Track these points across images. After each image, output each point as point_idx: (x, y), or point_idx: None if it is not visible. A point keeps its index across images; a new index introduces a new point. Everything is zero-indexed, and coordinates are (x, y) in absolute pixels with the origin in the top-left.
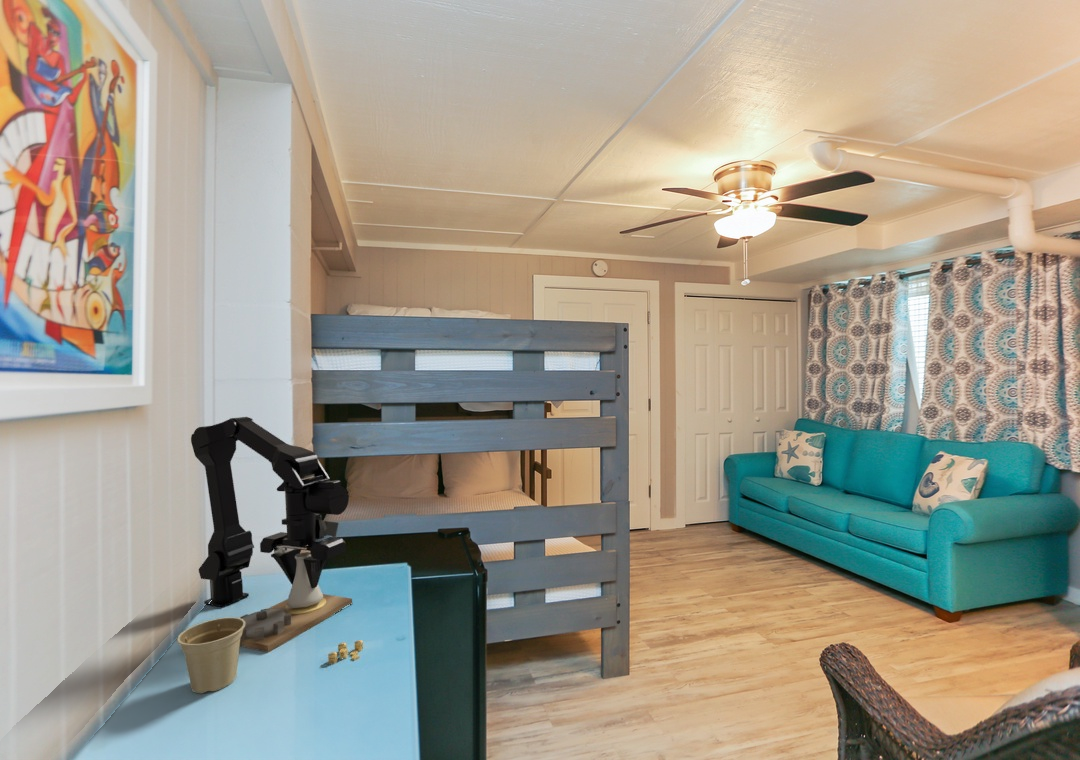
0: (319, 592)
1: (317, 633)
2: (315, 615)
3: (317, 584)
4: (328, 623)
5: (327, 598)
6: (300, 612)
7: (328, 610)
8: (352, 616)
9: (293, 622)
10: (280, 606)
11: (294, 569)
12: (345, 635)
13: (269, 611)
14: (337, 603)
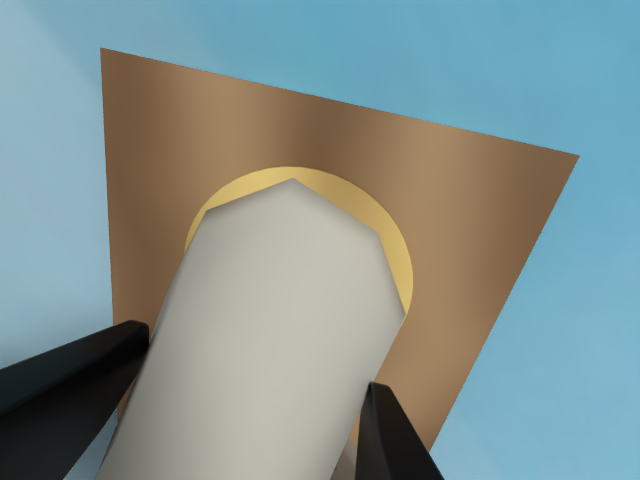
0: (378, 302)
1: (488, 445)
2: (426, 380)
3: (396, 400)
4: (499, 374)
5: (372, 167)
6: None
7: (474, 330)
8: (613, 308)
9: (356, 435)
10: (155, 289)
11: (4, 464)
12: (633, 464)
13: None
14: (490, 240)
